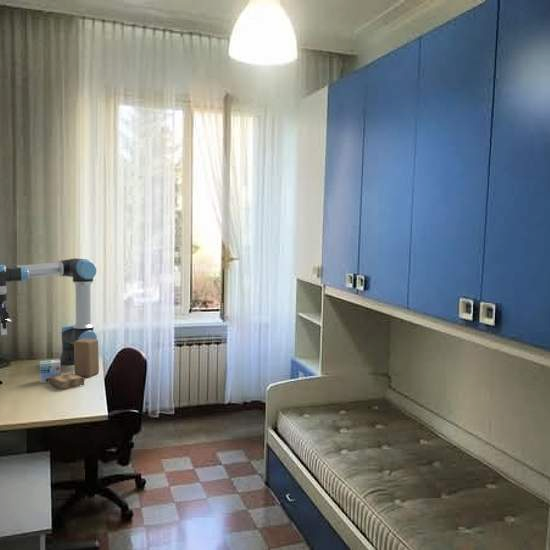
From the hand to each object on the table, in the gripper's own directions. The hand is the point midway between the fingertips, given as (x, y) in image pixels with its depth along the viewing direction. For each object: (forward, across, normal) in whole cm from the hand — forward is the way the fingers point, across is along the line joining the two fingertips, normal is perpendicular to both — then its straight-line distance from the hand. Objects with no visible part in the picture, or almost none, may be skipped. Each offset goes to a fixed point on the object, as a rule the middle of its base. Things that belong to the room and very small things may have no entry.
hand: (0, 332), depth 305 cm
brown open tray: (+27, +29, +24) cm, 46 cm away
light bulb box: (+27, +14, +21) cm, 37 cm away
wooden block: (+27, +15, +41) cm, 51 cm away
